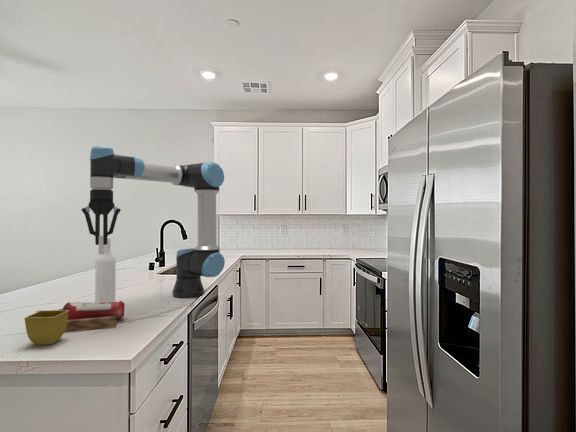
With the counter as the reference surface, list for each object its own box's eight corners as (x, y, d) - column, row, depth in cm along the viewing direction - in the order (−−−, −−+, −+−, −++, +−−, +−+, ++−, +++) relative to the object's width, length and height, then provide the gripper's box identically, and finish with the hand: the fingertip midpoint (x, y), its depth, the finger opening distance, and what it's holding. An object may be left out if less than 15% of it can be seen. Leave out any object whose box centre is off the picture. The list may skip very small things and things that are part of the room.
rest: (118, 316, 142) (118, 307, 142) (115, 327, 128) (115, 317, 128) (43, 322, 133) (43, 313, 133) (31, 335, 119) (31, 324, 119)
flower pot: (40, 338, 117) (41, 310, 117) (69, 337, 118) (69, 309, 118) (23, 347, 108) (23, 317, 108) (54, 347, 109) (54, 317, 109)
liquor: (124, 315, 142) (39, 320, 131) (124, 297, 141) (39, 301, 130) (123, 322, 135) (33, 328, 124) (124, 303, 134) (33, 308, 124)
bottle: (106, 309, 152) (107, 237, 152) (90, 308, 153) (91, 237, 153) (119, 305, 160) (119, 236, 160) (103, 304, 161) (104, 236, 161)
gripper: (121, 190, 139) (121, 252, 139) (83, 189, 135) (82, 253, 135) (120, 189, 132) (120, 254, 132) (79, 188, 128) (79, 255, 128)
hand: (101, 253), depth 133 cm, fingers closed
